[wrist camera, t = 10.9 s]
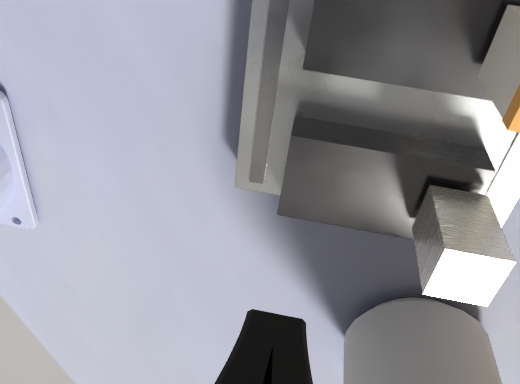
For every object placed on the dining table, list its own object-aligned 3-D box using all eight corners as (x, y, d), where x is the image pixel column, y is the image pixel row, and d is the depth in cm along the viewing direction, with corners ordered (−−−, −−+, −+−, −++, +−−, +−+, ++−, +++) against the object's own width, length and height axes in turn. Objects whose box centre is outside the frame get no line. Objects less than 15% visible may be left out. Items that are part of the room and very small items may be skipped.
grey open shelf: (241, 167, 21) (205, 273, 15) (297, -386, 11) (251, -600, 6) (488, 212, 20) (536, 338, 15) (783, -333, 10) (1230, -522, 5)
